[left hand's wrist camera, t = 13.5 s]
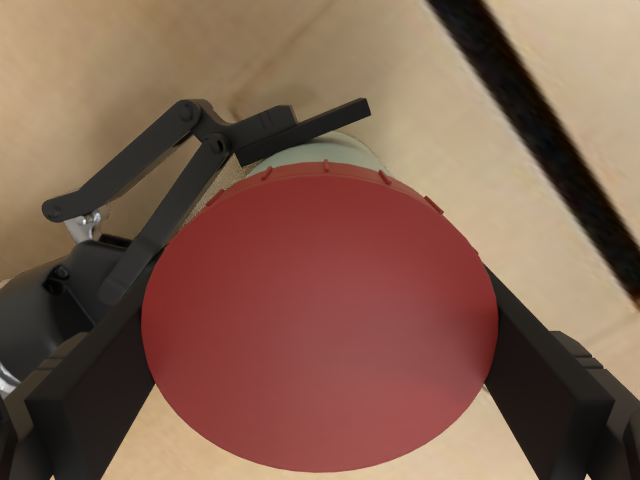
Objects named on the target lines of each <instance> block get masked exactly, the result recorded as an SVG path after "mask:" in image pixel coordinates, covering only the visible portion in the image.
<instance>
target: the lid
mask: <svg viewBox="0 0 640 480" xmlns="http://www.w3.org/2000/svg"><path fill="white" fill-rule="evenodd" d="M443 213H444V212H443V211H442V210H441V209H440V208H439V207H438V206H437V205H436V204H435V203H434V202H433V201H432V200H431V199H430V198H429V197H427V196H425V197H423V196H421V195H420V194H419V193H417V192H416V191H415V190H413V189H412V188H411V187H409V186H407V185H405V184H403V183H402V182H400V181H398V180H396V179H394V178H393V177H390V176H388V175H386V174H385V173H384V172H383V170H379V172H377V171H375V170H372V169H368V168H364V167H360V166H356V165H351V164H345V163H335V162H328V159H324V162H301V163H295V164H289V165H283V166H278V167H275V168H272V166H269V167H268V168H267V169H266V170H265V171H262V172H259V173H256V174H254V175H252V176H250V177H248V178H246V179H244V180H241V181H239V182H237V183H236V184H234V185H233V186H231V187H230V188H228V189H226V190H225V191H224V190H223V189H221V190H220V191H219V192H218V193H217V194H216V195H215V196H214V197H213V198H212V199H211V200H209V201H208V202H207V203H206V206H205V207H204V208H203V209H202V210H201V211H200V212H199V213H198V214H197V215H196V216H195V217H194V218H193V219H192V220H191V221H190V222H189V223H188V224H186V225H185V226H184V227H183V228H182V229H181V230H180V231H179V232H178V233H177V234H176V235H175V236H174V237H173V238H172V239H171V240H170V241H169V242H168V243H167V245H168V246H167V247H166V249H165V250H164V252H163V254H162V255H161V257H160V259H159V260H158V262H157V264H156V265H155V267H154V269H153V272H152V274H151V277H150V279H149V282H148V284H147V287H146V291H145V296H144V300H143V304H142V315H141V334H142V340H143V345H144V349H145V354H146V358H147V363H148V367H149V370H150V372H151V374H152V377H153V379H154V381H155V383H156V385H157V387H158V388H159V390H160V392H161V393H162V395H163V397H164V398H165V400H166V401H167V402H168V403H169V405H170V406H171V407H172V408H173V410H174V411H175V412H176V413H177V414H178V415H179V416H180V417H181V418H182V419H183V420H184V421H185V422H186V423H187V424H188V425H189V426H190V427H191V428H192V429H194V430H195V431H196V432H198V433H199V434H200V435H202V436H203V437H204V438H205V439H207V440H209V441H210V442H212V443H214V444H215V445H217V446H218V447H220V448H222V449H224V450H226V451H228V452H230V453H232V454H234V455H236V456H238V457H241V458H244V459H247V460H249V461H252V462H255V463H258V464H262V465H266V466H269V467H273V468H278V469H284V470H290V471H298V472H313V473H322V472H341V471H350V470H356V469H361V468H366V467H371V466H375V465H378V464H381V463H384V462H388V461H391V460H393V459H396V458H398V457H401V456H403V455H405V454H408V453H410V452H412V451H414V450H415V449H417V448H419V447H421V446H423V445H425V444H426V443H428V442H429V441H431V440H432V439H434V438H435V437H437V436H438V435H440V434H441V433H442V432H443V431H445V430H446V429H447V428H448V427H449V426H450V425H452V424H453V423H454V422H455V421H456V420H457V419H458V418H459V417H460V416H461V415H462V414H463V412H464V411H465V410H466V409H467V408H468V407H469V406H470V404H471V403H472V401H473V400H474V399H475V397H476V396H477V394H478V393H479V391H480V390H481V388H482V386H483V384H484V382H485V380H486V378H487V376H488V374H489V371H490V368H491V365H492V361H493V357H494V352H495V348H496V343H497V338H498V320H499V317H498V310H497V302H496V296H495V293H494V290H493V287H492V283H491V280H490V277H489V275H488V273H487V271H486V269H485V267H484V265H483V263H482V261H481V259H480V257H479V256H478V252H477V251H476V250H475V249H474V248H473V247H472V246H471V245H470V243H469V242H468V240H467V239H466V238H465V237H464V236H463V235H462V234H461V233H460V232H459V231H458V230H457V229H456V228H455V227H454V226H453V225H452V224H451V223H450V222H449V221H448V220H447V219H446V218H445V217H444V216H443V215H442V214H443Z"/></svg>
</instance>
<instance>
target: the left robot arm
mask: <svg viewBox="0 0 640 480" xmlns="http://www.w3.org/2000/svg"><path fill="white" fill-rule="evenodd" d="M482 263H483V262H482ZM156 264H157V263H156ZM156 264H155V265H156ZM155 265H154V266H153V267H152V268H151V269H150V270H149V271H148V272H147V273H146V274H145V275H144V276H143V277H142V278H141V279H140V280H139V281H138V283H137V284H136V285H135V286H134V287H133V288H132V289H131V290H130V291H129V292H128V293H127V294H126V295H125V296H124V297H123V298H122V299H121V300H120V301H119V302H118V303H117V304H116V305H115V306H114V307H113V308H112V309H111V310H110V311H109V312H108V314H107V315H106V316H105V317H104V318H103V319H102V320H101V321H100V322H99V323H98V324H97V325H96V326H95V327H94V328H93V329H92V330H91V331H90V332H80V333H78V334H76V335H75V336H73V337H71V338H70V339H68V340H67V341H65V342H63V343H62V344H61V345H59V346H58V347H57V348H56V349H55V350H54V351H53V352H52V353H51V354H50V355H49V356H48V359H45V360H44V361H43V362H42V363H41V364H40V365H39V366H38V367H37V369H36V370H34V371H33V372H32V373H30V374H29V375H28V376H27V377H26V378H25V379H24V380H23V381H22V382H21V383H20V384H19V385H18V386H17V387H16V388H15V389H14V390H13V391H12V392H11V393H10V394H9V395H8V396H7V397H6V398H5V399H4V400H3V399H2V397H1V394H0V480H50V478H51V477H52V475H54V478H55V480H101V478H102V476H103V474H104V473H105V471H106V469H107V467H108V466H109V464H110V462H111V460H112V459H113V457H114V455H115V453H116V452H117V450H118V448H119V446H120V444H121V443H122V441H123V439H124V437H125V436H126V434H127V432H128V430H129V429H130V427H131V425H132V423H133V422H134V420H135V418H136V416H137V415H138V413H139V411H140V409H141V408H142V406H143V404H144V402H145V401H146V399H147V397H148V395H149V393H150V392H151V390H152V388H153V386H154V385H155V381H154V379H153V377H152V374H151V372H150V370H149V367H148V363H147V358H146V354H145V349H144V345H143V340H142V334H141V315H142V304H143V300H144V296H145V291H146V287H147V284H148V282H149V279H150V277H151V274H152V272H153V269H154V267H155ZM483 265H484V267H485V269H486V271H487V273H488V275H489V277H490V280H491V283H492V287H493V290H494V293H495V296H496V302H497V310H498V317H499V320H498V338H497V343H496V348H495V352H494V357H493V361H492V365H491V368H490V371H489V374H488V376H487V378H486V380H485V382H484V384H485V385H486V387H487V389H488V391H489V392H490V394H491V396H492V398H493V399H494V401H495V403H496V405H497V406H498V408H499V410H500V412H501V413H502V415H503V417H504V419H505V421H506V422H507V424H508V426H509V428H510V429H511V431H512V433H513V435H514V436H515V438H516V440H517V442H518V443H519V445H520V447H521V449H522V450H523V452H524V454H525V456H526V457H527V459H528V461H529V463H530V464H531V466H532V468H533V470H534V472H535V473H536V475H537V477H538V479H539V480H584V479H585V477H586V474H588V475H589V477H590V478H591V480H640V401H639V400H638V399H637V398H636V397H635V396H634V395H633V394H632V393H631V392H630V391H629V390H628V389H627V388H626V387H625V386H623V385H622V384H621V383H620V382H619V381H618V380H617V379H616V378H615V377H614V376H613V375H612V374H611V373H610V372H609V371H608V370H607V369H604V368H603V365H602V364H601V363H600V362H598V361H597V360H596V359H595V358H592V355H591V354H590V353H589V352H588V351H587V350H586V349H585V348H584V347H583V346H582V345H581V344H580V343H579V342H577V341H576V340H574V339H572V338H571V337H569V336H567V335H565V334H564V333H562V332H560V331H549V330H548V329H547V328H546V327H545V326H544V325H543V324H542V323H541V322H540V321H539V320H538V319H537V318H536V317H535V316H534V315H533V314H532V313H531V312H530V311H529V310H528V309H527V308H526V307H525V306H524V305H523V304H522V303H521V302H520V301H519V299H518V298H517V297H516V296H515V295H514V294H513V293H512V292H511V291H510V290H509V289H508V288H507V287H506V286H505V285H504V284H503V283H502V282H501V281H500V280H499V279H498V278H497V277H496V276H495V275H494V274H493V273H492V272H491V271H490V270H489V268H488V267H487V266H486V265H485V264H484V263H483Z"/></svg>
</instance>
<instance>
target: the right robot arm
mask: <svg viewBox="0 0 640 480" xmlns="http://www.w3.org/2000/svg"><path fill="white" fill-rule="evenodd" d="M370 115H371V112H370V109H369V106H368V103H367V99H366V98H359V99H356V100H354V101H351V102H349V103H346V104H344V105H341V106H339V107H337V108H334V109H332V110H329V111H327V112H324V113H322V114H320V115H317V116H315V117H312V118H310V119H307V120H305V121H303V122H300V123H298V121H297V118H296V116H295V113H294V111H293V108H292V106H291V105H279V106H276V107H273V108H271V109H269V110H266V111H264V112H262V113H259V114H257V115H254V116H252V117H250V118H247V119H245V120H243V121H240V122H238V123H235V124H231V123H227V122H225V121H224V120H222V119H221V118H220V117H219V116H218V115H217V113H216V112H215V111H214V110H213V107H212V105H211V104H210V103H209V102H208V101H206V100H204V99H188V100H180V101H178V102H177V103H176V104H174V105H173V106H172V107H171V108H170V109H169V110H168V111H167V112H165V113H164V114H163V115H162V116H161V117H160V118H159V119H158V120H156V121H155V122H154V123H153V124H152V125H151V126H150V127H149V128H147V129H146V130H145V131H144V132H143V133H142V134H141V135H140V136H138V137H137V138H136V139H135V140H134V141H133V142H132V143H131V144H129V145H128V146H127V147H126V148H125V149H124V150H123V151H122V152H120V153H119V154H118V155H117V156H116V157H115V158H114V159H113V160H111V161H110V162H109V163H108V164H107V165H106V166H105V167H104V168H102V169H101V170H100V171H99V172H98V173H97V174H96V175H95V176H93V177H92V178H91V179H90V180H89V181H88V182H87V183H86V184H84V185H83V186H82V187H81V188H78V189H75V190H73V191H70V192H67V193H65V194H62V195H60V196H57V197H55V198H52V199H49V200H47V201H45V202H44V203H43V205H42V212H43V215H44V216H45V217H46V218H47V219H48V220H50V221H52V222H56V223H57V222H64V224H65V225H66V227H67V229H68V230H69V232H70V234H71V235H72V237H73V239H74V240H75V242H76V244H77V245H76V246H75V247H74V248H73V250H72V252H71V253H70V254H69V255H66V256H64V257H61V258H59V259H56V260H54V261H51V262H49V263H46V264H44V265H41V266H39V267H36V268H34V269H31V270H28V271H26V272H23V273H21V274H19V275H17V276H15V277H14V278H9V279H5V280H3V281H0V394H1V397H2V399H3V400H4V399H5V398H6V397H7V396H8V395H9V394H10V393H11V392H12V391H13V390H14V389H15V388H16V387H17V386H18V385H19V384H20V383H21V382H22V381H23V380H24V379H25V378H26V377H27V376H28V375H29V374H30V373H32V372H33V371H34V370H36V369H37V367H38V366H39V365H40V364H41V363H42V362H43V361H44V360H45V359H48V356H49V355H50V354H51V353H52V352H53V351H54V350H55V349H56V348H57V347H58V346H59V345H61V344H62V343H63V342H65V341H67V340H68V339H70V338H71V337H73V336H75V335H76V334H78V333H80V332H90V331H91V330H92V329H93V328H94V327H95V326H96V325H97V324H98V323H99V322H100V321H101V320H102V319H103V318H104V317H105V316H106V315H107V314H108V312H109V311H110V310H111V309H112V308H113V307H114V306H115V305H116V304H117V303H118V302H119V301H120V300H121V299H122V298H123V297H124V296H125V295H126V294H127V293H128V292H129V291H130V290H131V289H132V288H133V287H134V286H135V285H136V284H137V283H138V281H139V280H140V279H141V278H142V277H143V276H144V275H145V274H146V273H147V272H148V271H149V270H150V269H151V268H152V267H153V266H154V265H155V264H156V263H157V262H158V260H159V259H160V257H161V255H162V254H163V252H164V250H165V248H166V247H167V246H168V245H167V243H168V242H169V241H170V240H171V239H172V238H173V237H174V236H175V235H176V233H177V232H178V229H179V228H180V226H181V225H182V224H183V222H184V221H185V220H186V218H187V217H188V216H189V214H190V213H191V211H192V210H193V209H194V207H195V206H196V205H197V203H198V202H199V200H200V199H201V198H202V196H203V195H204V194H205V192H206V191H207V189H208V188H209V187H210V185H211V184H212V183H213V181H214V180H215V179H216V177H217V176H218V174H219V173H220V172H221V170H222V169H223V168H224V166H225V165H226V163H227V162H228V161H229V159H230V158H231V157H232V155H233V154H234V153H235V154H236V157H237V159H238V161H239V163H240V165H241V167H244V166H246V165H249V164H251V163H254V162H256V161H258V160H261V159H263V158H266V157H268V156H271V155H273V154H276V153H278V152H281V151H283V150H286V149H288V148H291V147H293V146H296V145H298V144H301V143H303V142H306V141H308V140H311V139H313V138H316V137H318V136H321V135H323V134H326V133H328V132H331V131H333V130H336V129H338V128H341V127H343V126H345V125H348V124H350V123H353V122H355V121H358V120H360V119H363V118H365V117H368V116H370ZM193 135H195V136H196V137H197V139H198V140H199V141H200V142H201V143H202V144H201V146H200V147H199V149H198V150H197V152H196V153H195V155H194V156H193V157H192V159H191V160H190V162H189V163H188V165H187V166H186V168H185V169H184V170H183V172H182V173H181V175H180V176H179V178H178V179H177V181H176V182H175V183H174V185H173V186H172V188H171V189H170V191H169V192H168V194H167V195H166V197H165V198H164V199H163V201H162V202H161V204H160V205H159V207H158V208H157V210H156V211H155V212H154V214H153V215H152V217H151V218H150V220H149V221H148V223H147V224H146V225H145V227H144V228H143V230H142V231H141V232H140V234H139V235H138V236H137V237H136V238H135V239H134V240H131V239H127V238H123V237H118V236H114V235H110V234H104V233H101V230H100V226H101V223H102V222H103V221H105V220H106V219H107V218H108V217H109V211H110V209H111V207H110V205H109V204H108V203H109V202H111V201H113V200H115V199H117V198H119V197H121V196H122V195H123V194H125V193H126V192H127V191H128V190H130V189H131V188H132V187H133V186H134V185H136V184H137V183H138V182H139V181H140V180H141V179H143V178H144V177H145V176H146V175H147V174H148V173H150V172H151V171H152V170H153V169H154V168H156V167H157V166H158V165H159V164H160V163H161V162H163V161H164V160H165V159H166V158H167V157H168V156H170V155H171V154H172V153H173V152H174V151H176V150H177V149H178V148H179V147H180V146H181V145H183V144H184V143H185V142H186V141H187V140H189V139H190V138H191V137H192V136H193Z"/></svg>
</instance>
